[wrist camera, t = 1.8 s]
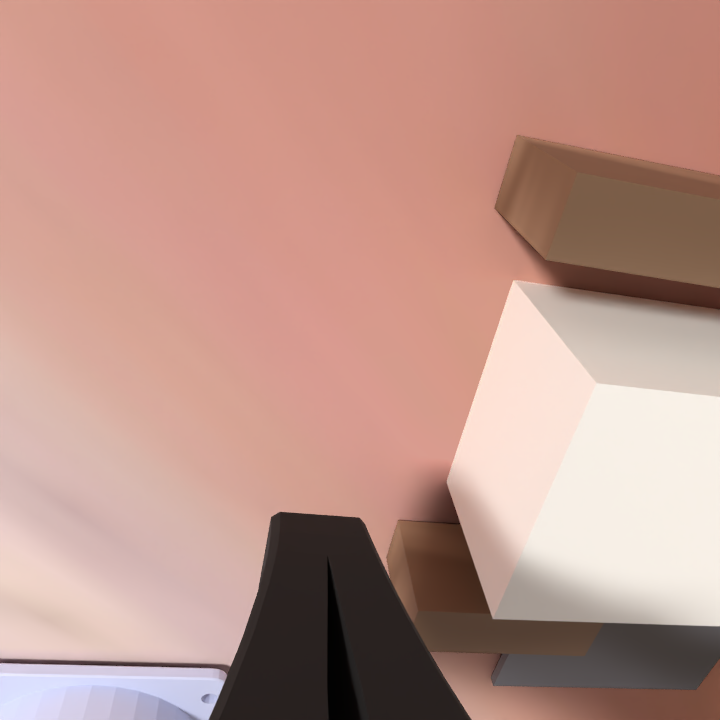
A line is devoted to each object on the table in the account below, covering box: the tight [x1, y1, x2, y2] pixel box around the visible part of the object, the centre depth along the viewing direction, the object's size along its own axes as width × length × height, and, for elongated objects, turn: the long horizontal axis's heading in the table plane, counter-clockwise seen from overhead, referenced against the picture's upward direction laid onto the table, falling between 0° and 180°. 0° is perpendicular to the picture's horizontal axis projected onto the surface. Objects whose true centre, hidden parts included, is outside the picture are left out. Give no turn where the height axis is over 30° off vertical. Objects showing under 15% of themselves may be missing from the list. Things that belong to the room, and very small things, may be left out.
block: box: [447, 280, 720, 626], centre depth 14 cm, size 6×6×4 cm
